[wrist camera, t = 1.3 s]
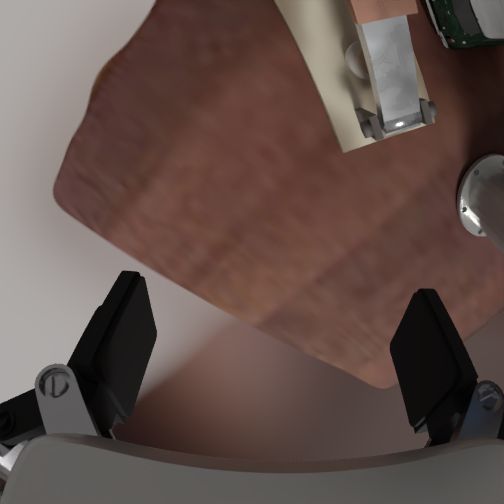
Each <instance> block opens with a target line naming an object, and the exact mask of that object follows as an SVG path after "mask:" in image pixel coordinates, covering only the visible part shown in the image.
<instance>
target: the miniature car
mask: <svg viewBox="0 0 504 504" xmlns="http://www.w3.org/2000/svg"><path fill="white" fill-rule="evenodd" d="M429 2H430V3H429ZM426 3H427V6H428V9H429V12H430V15H431V18H432V20H433V23H434V25H435V28H436V30H437V33H438V35H440V37H441V39H442V42H443V44H444V46H445V47H446V48H449V49H451V50H458V49H469V48H472V47H481V46H499V45H504V0H429V1H428V0H426ZM430 4H431V6H430ZM431 7H432V9H431ZM432 10H433V12H434V15H435V18H436V21H437V24H438V26H439V29H440V31H441V32H440V31H439V29H438V26H437V24H436V21H435V18H434V15H433V12H432ZM446 42H447V43H448V45H447V43H446ZM448 46H449V47H448Z"/></svg>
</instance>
